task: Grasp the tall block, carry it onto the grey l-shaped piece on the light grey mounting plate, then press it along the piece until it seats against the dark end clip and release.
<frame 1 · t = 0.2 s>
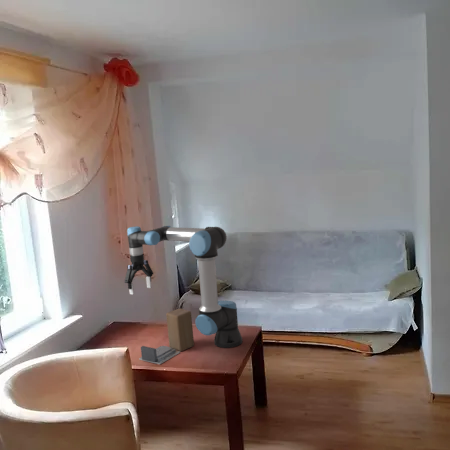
hand: (140, 291, 307), 28 cm above the table, fingers open, 13 cm apart
block: (181, 347, 294), on the table
grey l-shaped piece: (159, 356, 284), on the table
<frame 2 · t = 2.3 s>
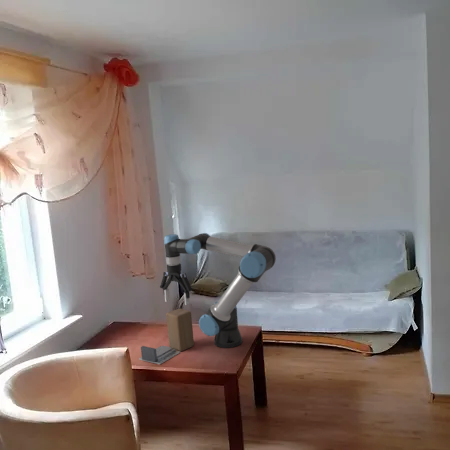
hand: (177, 302, 290), 25 cm above the table, fingers open, 13 cm apart
nothing on the table moved.
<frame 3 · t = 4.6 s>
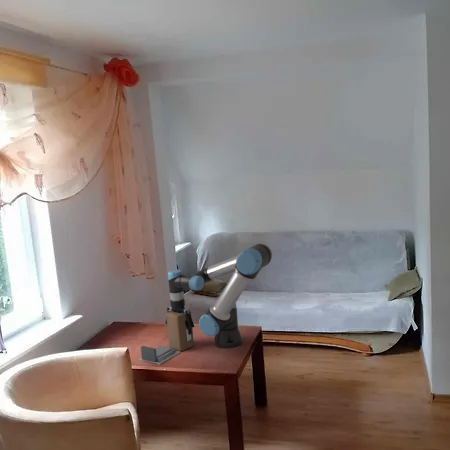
hand: (180, 338, 293), 5 cm above the table, fingers closed on block, 11 cm apart
block: (181, 347, 294), on the table, touching gripper
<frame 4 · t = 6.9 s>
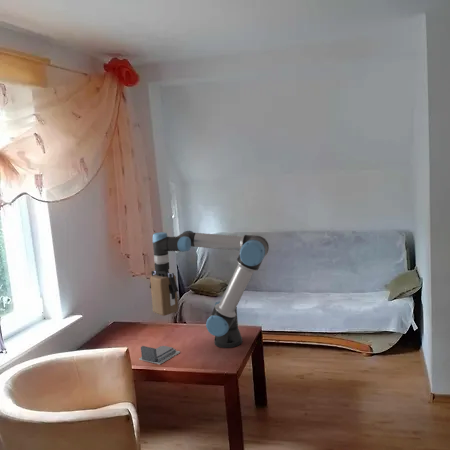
hand: (164, 303, 285), 27 cm above the table, fingers closed on block, 11 cm apart
block: (165, 312, 286), point 21 cm above the table, touching gripper
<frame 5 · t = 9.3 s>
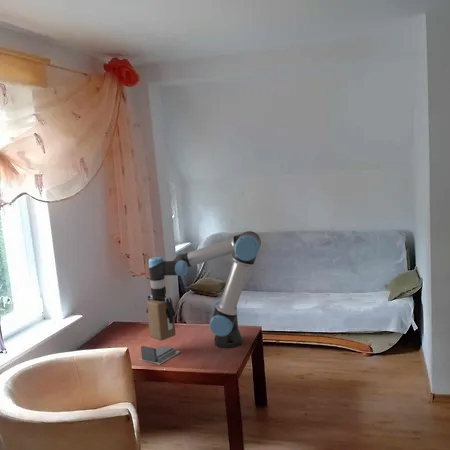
hand: (162, 327, 285), 14 cm above the table, fingers closed on block, 11 cm apart
block: (163, 336, 285), point 9 cm above the table, touching gripper
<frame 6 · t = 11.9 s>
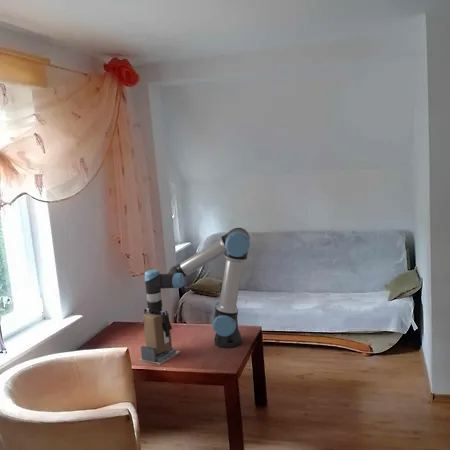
hand: (158, 340, 283), 8 cm above the table, fingers closed on block, 11 cm apart
block: (159, 350, 283), point 3 cm above the table, touching gripper
when the fingers open (8 cm above the table, at t = 14.0 s): block stays where it is, resting on grey l-shaped piece.
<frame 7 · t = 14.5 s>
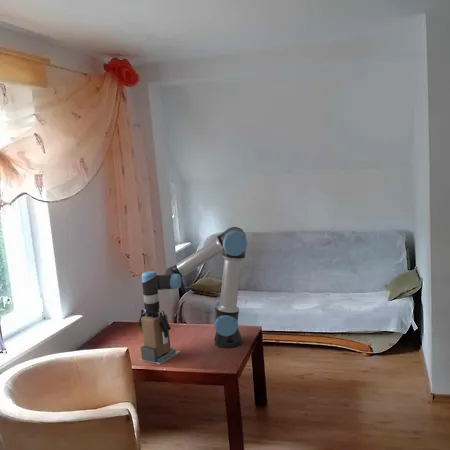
hand: (155, 341, 281), 9 cm above the table, fingers open, 13 cm apart
block: (157, 352, 282), point 2 cm above the table, touching grey l-shaped piece
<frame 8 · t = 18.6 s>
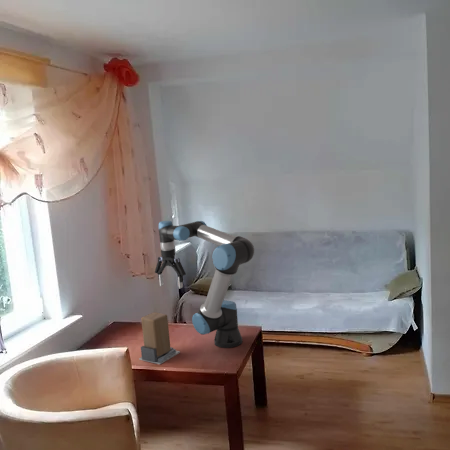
hand: (171, 286, 300), 31 cm above the table, fingers open, 13 cm apart
nothing on the table moved.
at the end: block 0.2 cm from the target spot on the grey l-shaped piece, point 2.4 cm above the grey l-shaped piece's base; block tilted 0°; block touching grey l-shaped piece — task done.
